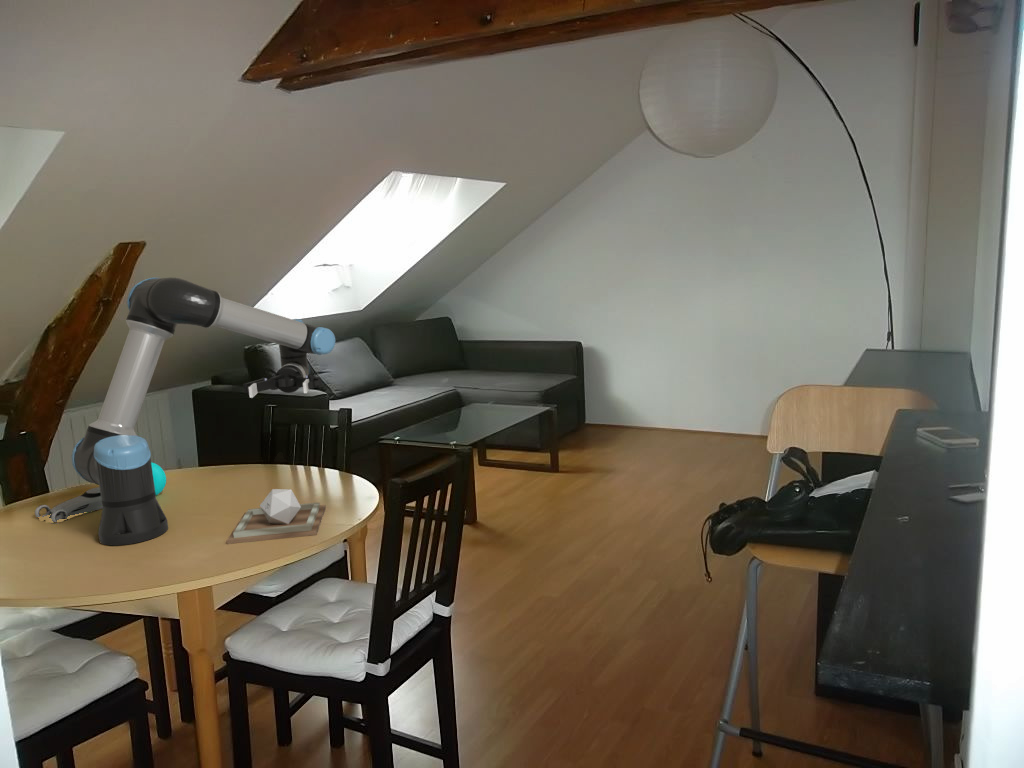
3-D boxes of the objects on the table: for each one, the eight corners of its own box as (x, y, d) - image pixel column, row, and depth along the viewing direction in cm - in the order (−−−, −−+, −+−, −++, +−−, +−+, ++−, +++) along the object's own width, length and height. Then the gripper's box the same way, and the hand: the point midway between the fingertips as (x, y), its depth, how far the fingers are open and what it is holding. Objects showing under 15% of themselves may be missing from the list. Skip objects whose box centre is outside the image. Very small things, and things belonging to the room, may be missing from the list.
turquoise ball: (117, 507, 216) (112, 471, 215) (135, 495, 226) (130, 461, 224) (154, 505, 216) (149, 469, 214) (170, 493, 226) (165, 459, 224)
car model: (31, 520, 210) (28, 502, 209) (120, 494, 230) (118, 477, 229) (53, 526, 204) (49, 508, 203) (142, 499, 224) (140, 481, 223)
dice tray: (245, 515, 202) (244, 508, 201) (325, 507, 204) (325, 500, 204) (227, 543, 182) (226, 535, 182) (316, 534, 184) (315, 526, 184)
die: (265, 520, 196) (248, 498, 189) (293, 497, 200) (278, 474, 193) (282, 538, 191) (265, 516, 185) (311, 514, 195) (295, 491, 188)
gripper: (336, 387, 228) (328, 400, 208) (246, 394, 226) (229, 408, 205) (333, 361, 227) (325, 372, 206) (243, 368, 224) (226, 379, 204)
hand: (277, 390), depth 206 cm, fingers open, 13 cm apart
